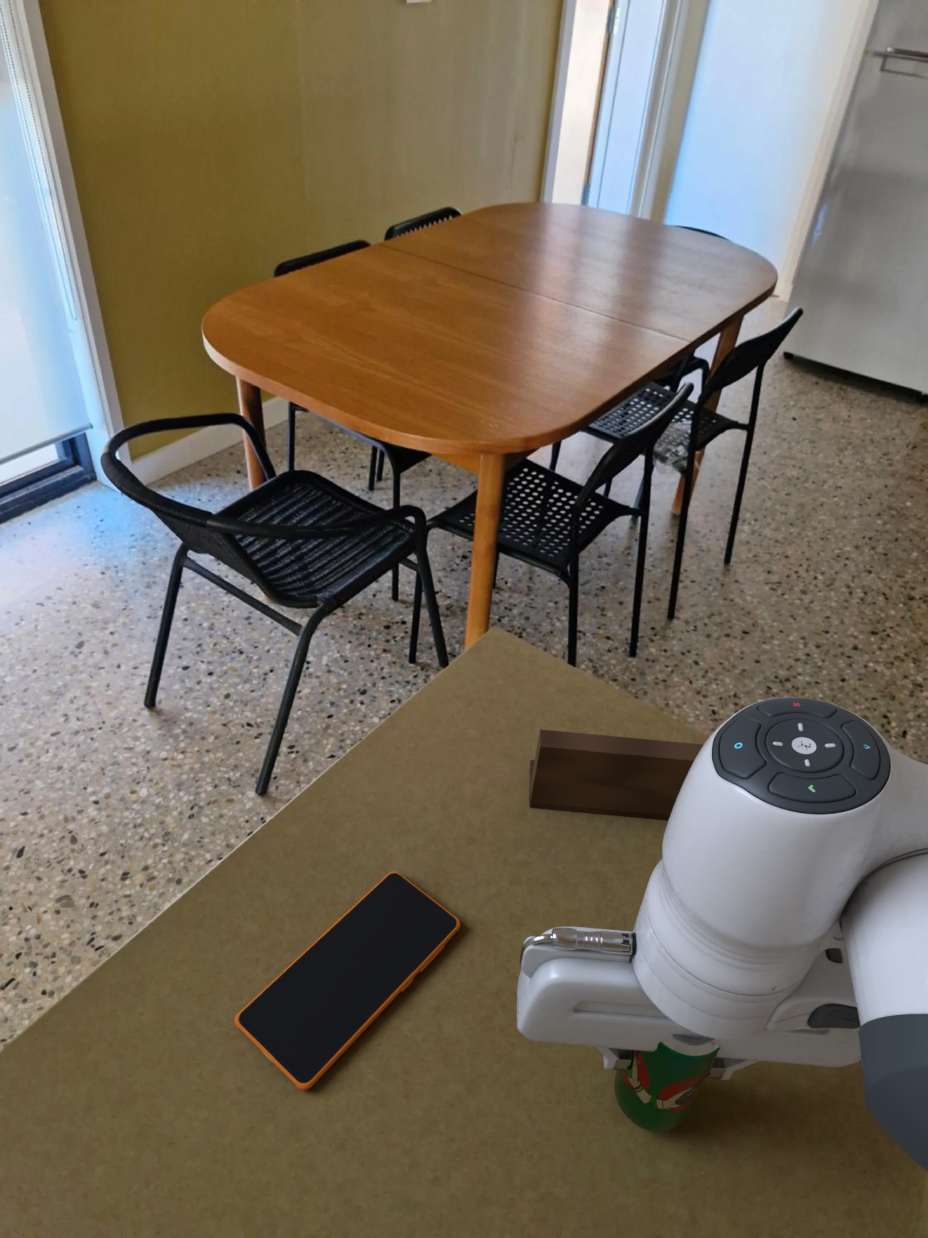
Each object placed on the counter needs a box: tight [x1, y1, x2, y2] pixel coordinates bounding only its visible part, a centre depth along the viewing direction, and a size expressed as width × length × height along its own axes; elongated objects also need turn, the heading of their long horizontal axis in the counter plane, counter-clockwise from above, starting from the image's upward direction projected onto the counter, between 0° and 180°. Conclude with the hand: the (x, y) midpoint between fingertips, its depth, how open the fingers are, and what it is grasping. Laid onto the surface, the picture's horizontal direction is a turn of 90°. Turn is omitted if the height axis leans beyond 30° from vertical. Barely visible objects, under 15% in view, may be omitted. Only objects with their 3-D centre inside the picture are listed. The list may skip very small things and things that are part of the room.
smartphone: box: [234, 870, 462, 1091], centre depth 65 cm, size 8×17×1 cm, turn 141°
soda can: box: [613, 1034, 720, 1133], centre depth 56 cm, size 5×5×12 cm
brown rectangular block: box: [528, 729, 705, 821], centre depth 78 cm, size 16×5×8 cm, turn 86°
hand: (664, 1063), depth 57 cm, fingers closed on soda can, 5 cm apart
